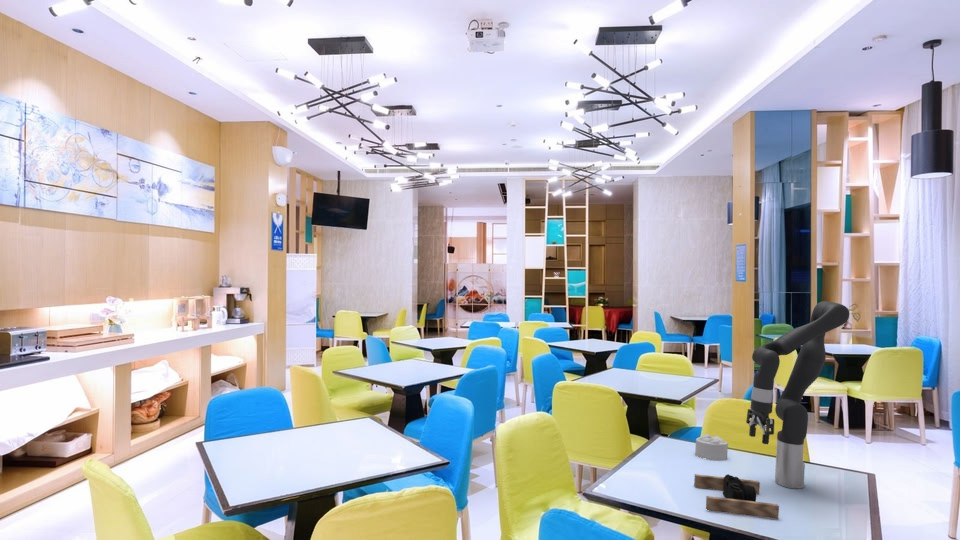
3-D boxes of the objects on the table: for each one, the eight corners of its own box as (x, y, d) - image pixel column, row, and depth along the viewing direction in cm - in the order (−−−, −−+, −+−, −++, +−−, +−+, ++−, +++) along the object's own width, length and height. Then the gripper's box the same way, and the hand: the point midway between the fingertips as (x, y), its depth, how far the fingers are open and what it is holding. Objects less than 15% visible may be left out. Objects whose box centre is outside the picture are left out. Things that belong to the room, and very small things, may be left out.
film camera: (760, 513, 183) (761, 488, 183) (730, 510, 185) (732, 485, 185) (747, 495, 198) (748, 471, 198) (720, 492, 200) (721, 468, 200)
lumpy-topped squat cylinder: (730, 460, 233) (730, 441, 233) (701, 460, 232) (702, 440, 232) (717, 451, 243) (718, 433, 243) (690, 451, 242) (691, 433, 242)
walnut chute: (757, 492, 200) (758, 481, 200) (778, 519, 180) (778, 506, 179) (694, 485, 204) (694, 474, 204) (706, 510, 184) (707, 497, 184)
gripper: (782, 404, 200) (779, 447, 200) (760, 395, 214) (756, 434, 214) (763, 403, 199) (760, 446, 200) (742, 394, 214) (739, 433, 214)
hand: (758, 440), depth 207 cm, fingers open, 8 cm apart
